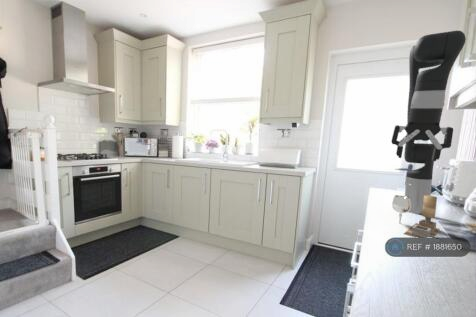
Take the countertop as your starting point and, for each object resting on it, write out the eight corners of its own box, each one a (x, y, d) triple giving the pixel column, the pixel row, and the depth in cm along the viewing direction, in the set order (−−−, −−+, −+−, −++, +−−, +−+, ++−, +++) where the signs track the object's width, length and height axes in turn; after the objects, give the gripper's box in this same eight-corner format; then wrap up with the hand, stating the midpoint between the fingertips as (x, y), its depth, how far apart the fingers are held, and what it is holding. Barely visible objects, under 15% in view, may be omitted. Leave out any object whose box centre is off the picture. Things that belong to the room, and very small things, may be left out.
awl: (421, 225, 83) (424, 194, 82) (434, 229, 80) (437, 196, 79) (419, 228, 81) (422, 196, 80) (432, 231, 78) (435, 198, 77)
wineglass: (402, 230, 81) (405, 199, 81) (387, 225, 87) (389, 195, 86) (412, 228, 84) (415, 198, 83) (396, 223, 89) (399, 194, 88)
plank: (415, 226, 86) (416, 216, 86) (439, 232, 81) (440, 222, 80) (402, 238, 74) (403, 226, 74) (429, 246, 69) (431, 233, 69)
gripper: (455, 106, 65) (443, 159, 69) (396, 106, 72) (388, 154, 76) (462, 107, 59) (449, 165, 63) (398, 107, 66) (389, 158, 70)
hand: (416, 159), depth 70 cm, fingers open, 8 cm apart
